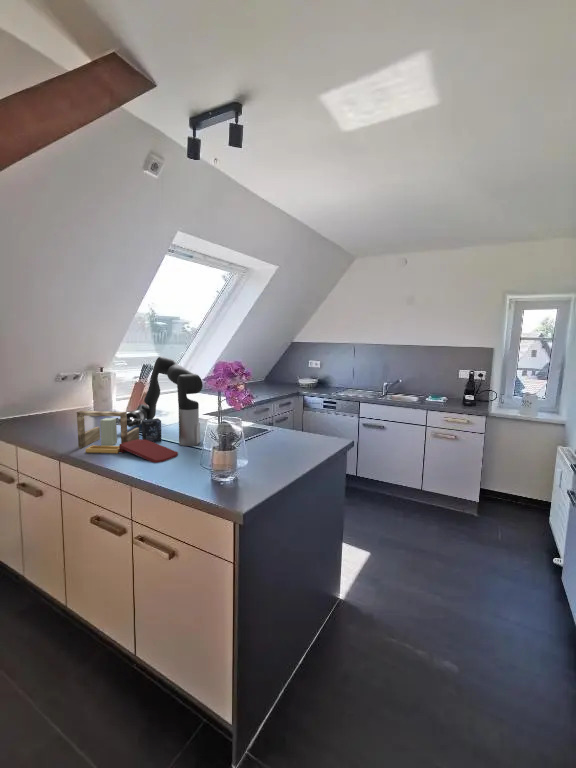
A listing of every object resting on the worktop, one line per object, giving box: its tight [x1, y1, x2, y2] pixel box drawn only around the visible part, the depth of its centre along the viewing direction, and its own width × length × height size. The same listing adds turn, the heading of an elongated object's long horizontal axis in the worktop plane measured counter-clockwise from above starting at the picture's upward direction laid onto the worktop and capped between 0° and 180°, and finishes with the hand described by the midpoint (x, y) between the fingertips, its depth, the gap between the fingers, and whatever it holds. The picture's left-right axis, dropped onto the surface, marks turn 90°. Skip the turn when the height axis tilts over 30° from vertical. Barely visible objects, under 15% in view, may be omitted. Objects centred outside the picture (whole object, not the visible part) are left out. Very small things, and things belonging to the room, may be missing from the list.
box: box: [141, 418, 162, 443], centre depth 180 cm, size 8×6×11 cm
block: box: [99, 417, 118, 446], centre depth 173 cm, size 5×5×12 cm
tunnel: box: [76, 410, 140, 449], centre depth 174 cm, size 21×16×16 cm
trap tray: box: [85, 444, 121, 455], centre depth 163 cm, size 14×6×2 cm, turn 89°
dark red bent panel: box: [118, 438, 179, 464], centre depth 160 cm, size 12×5×26 cm
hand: (120, 424), depth 185 cm, fingers open, 8 cm apart
